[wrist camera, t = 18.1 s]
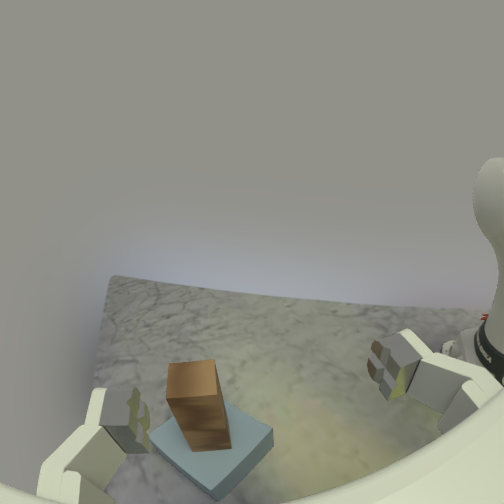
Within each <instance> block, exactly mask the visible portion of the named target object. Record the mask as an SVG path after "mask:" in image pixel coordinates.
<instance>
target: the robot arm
mask: <svg viewBox="0 0 504 504" xmlns="http://www.w3.org/2000/svg"><path fill="white" fill-rule="evenodd" d="M473 208H474V213H475V216H476V220H477V222H478V225H479V227H480V229H481V231H482V232H483V234H484V235H485V236H486V238H487V239H488V240H489V242H490V243H491V245H492V247H493V249H494V251H495V254H496V257H497V261H498V270H499V276H498V284H497V289H496V293H495V297H494V300H493V304H492V307H491V310H490V313H489V314H482V315H483V316H488V317H483V318H481V320H485V321H484V322H483V324H482V325H481V326H480V327H479V328H469V329H465V330H463V331H462V332H460V333H459V335H458V337H457V339H456V340H451V341H448V342H446V343H444V344H443V346H442V351H441V354H440V353H437V352H436V353H433V352H432V351H431V350H430V349H429V348H428V347H427V346H426V345H425V344H424V343H423V342H422V341H421V340H420V339H419V338H418V337H417V336H416V335H415V334H414V333H413V332H412V331H411V330H409V329H405V330H403V331H400V332H397V333H394V334H392V335H389V336H386V337H383V338H380V339H378V340H375V341H374V342H373V343H372V346H371V350H372V351H373V353H372V354H371V355H370V357H369V358H368V363H367V366H368V372H369V374H370V377H371V378H372V380H373V381H375V382H377V383H380V385H379V390H380V391H381V393H382V394H383V395H384V397H385V398H386V400H387V401H389V400H392V399H394V398H397V397H399V396H401V395H403V394H406V395H408V396H410V397H411V398H413V399H415V400H417V401H419V402H421V403H423V404H425V405H426V406H428V407H430V408H432V409H434V410H436V411H438V412H440V413H442V414H444V415H443V416H442V418H441V419H440V421H439V422H438V425H437V427H438V428H439V430H440V431H441V433H442V434H443V435H441V436H440V437H438V438H437V439H435V440H433V441H432V442H430V443H429V444H427V445H425V446H424V447H422V448H420V449H418V450H417V451H415V452H413V453H411V454H409V455H408V456H406V457H404V458H402V459H400V460H398V461H396V462H394V463H392V464H390V465H388V466H386V467H384V468H382V469H379V470H377V471H375V472H373V473H371V474H368V475H366V476H364V477H361V478H359V479H356V480H354V481H351V482H349V483H346V484H343V485H341V486H338V487H335V488H332V489H329V490H326V491H323V492H320V493H317V494H314V495H310V496H307V497H303V498H300V499H296V500H292V501H288V502H284V503H280V504H504V158H492V159H489V160H488V161H487V162H486V163H485V164H484V165H483V166H482V168H481V169H480V171H479V173H478V175H477V177H476V180H475V183H474V188H473ZM149 428H150V414H149V410H148V407H147V405H146V403H145V402H144V401H142V400H141V399H140V392H139V391H138V389H137V388H135V387H128V388H95V389H94V390H93V391H92V395H91V399H90V403H89V407H88V411H87V416H86V420H85V425H81V426H79V427H78V428H77V429H76V430H75V432H73V433H72V434H71V435H70V436H69V437H68V438H67V439H66V440H65V441H64V442H63V444H62V445H61V446H60V447H59V448H58V449H57V450H56V451H55V452H54V453H53V454H52V455H51V456H50V457H49V458H48V459H47V460H46V461H45V462H44V463H43V464H42V467H41V472H40V477H39V482H38V487H37V493H36V495H33V494H29V493H27V492H24V491H21V490H18V489H15V488H13V487H10V486H7V485H5V484H3V483H0V504H116V501H115V500H114V499H113V498H112V497H111V496H109V495H108V494H106V493H105V492H103V490H104V489H105V487H106V486H107V484H108V483H109V481H110V480H111V478H112V477H113V475H114V474H115V472H116V471H117V469H118V468H119V466H120V465H121V463H122V462H123V460H124V459H125V457H126V456H127V455H126V454H144V453H149V449H150V437H149V436H148V434H147V433H146V431H147V430H148V429H149Z"/></svg>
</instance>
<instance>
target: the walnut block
mask: <svg viewBox="0 0 504 504" xmlns="http://www.w3.org/2000/svg"><path fill="white" fill-rule="evenodd" d="M166 400H167V402H168V404H169V406H170V408H171V411H172V413H173V415H174V417H175V419H176V421H177V423H178V425H179V427H180V429H181V431H182V433H183V435H184V437H185V439H186V441H187V443H188V444H189V446H190V448H191V450H192V452H202V451H215V450H226V449H232V445H231V438H230V430H229V422H228V417H227V413H226V409H225V404H224V400H223V396H222V392H221V387H220V383H219V379H218V374H217V370H216V365H215V360H214V359H213V360H203V361H193V362H182V363H169V368H168V379H167V390H166Z"/></svg>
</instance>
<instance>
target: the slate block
mask: <svg viewBox="0 0 504 504" xmlns="http://www.w3.org/2000/svg"><path fill="white" fill-rule="evenodd" d="M224 404H225V409H226V413H227V417H228V422H229V430H230V438H231V445H232V449H226V450H215V451H202V452H192V450H191V448H190V446H189V444H188V443H187V441H186V439H185V437H184V435H183V433H182V431H181V429H180V427H179V425H178V423H177V421H176V419H175V417H174V416H173V417H171V418H170V419H169V420H168V421H166V422H165V423H164V424H162V425H161V426H160V427H158V428H157V429H156V430H155V431H153V432H152V433H151V434H149V435H148V436H149V437H150V442H151V443H152V444H153V446H154V447H155V448H156V450H157V451H158V452H159V454H160V455H162V456H163V457H164V458H165V459H166V460H167V461H168V462H169V463H170V464H172V465H173V466H174V467H175V468H176V469H177V470H178V471H180V472H181V473H182V474H183V475H184V476H186V477H187V478H188V479H189V480H191V481H192V482H193V483H194V484H196V485H197V486H198V487H200V488H201V489H202V490H204V491H205V492H206V493H208V494H209V495H210V496H212V497H213V498H214V499H216V500H217V501H220V500H222V499H223V498H224V497H225V496H226V495H227V494H228V493H229V492H230V491H231V490H232V489H233V488H234V487H235V486H236V485H237V484H238V483H239V482H240V481H241V480H242V479H243V478H244V477H245V476H246V475H247V474H248V473H249V472H250V471H251V470H252V469H253V468H254V467H255V466H256V465H257V464H258V463H259V462H260V460H261V459H262V458H263V457H264V456H265V455H266V454H267V453H268V452H269V450H270V449H271V448H272V447H273V446H274V444H273V428H272V427H270V426H268V425H266V424H264V423H263V422H261V421H259V420H257V419H255V418H254V417H252V416H250V415H248V414H246V413H245V412H243V411H241V410H240V409H238V408H236V407H234V406H233V405H231V404H229V403H228V402H226V401H225V400H224Z"/></svg>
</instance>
